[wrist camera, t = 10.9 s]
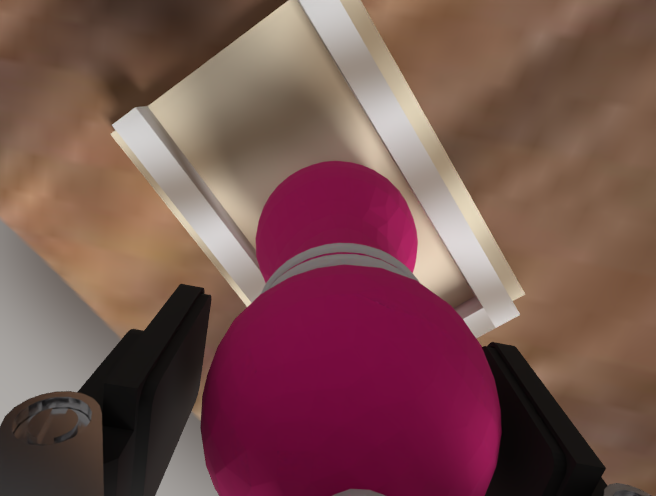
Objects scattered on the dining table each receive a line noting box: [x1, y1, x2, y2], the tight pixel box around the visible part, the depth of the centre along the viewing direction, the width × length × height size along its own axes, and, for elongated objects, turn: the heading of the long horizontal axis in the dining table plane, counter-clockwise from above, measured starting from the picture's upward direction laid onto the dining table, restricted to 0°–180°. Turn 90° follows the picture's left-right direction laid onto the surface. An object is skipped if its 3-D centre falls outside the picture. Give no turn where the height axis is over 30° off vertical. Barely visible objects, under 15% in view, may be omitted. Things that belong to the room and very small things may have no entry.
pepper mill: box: [201, 161, 502, 496], centre depth 15 cm, size 7×7×20 cm
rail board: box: [111, 0, 525, 338], centre depth 24 cm, size 20×14×2 cm
